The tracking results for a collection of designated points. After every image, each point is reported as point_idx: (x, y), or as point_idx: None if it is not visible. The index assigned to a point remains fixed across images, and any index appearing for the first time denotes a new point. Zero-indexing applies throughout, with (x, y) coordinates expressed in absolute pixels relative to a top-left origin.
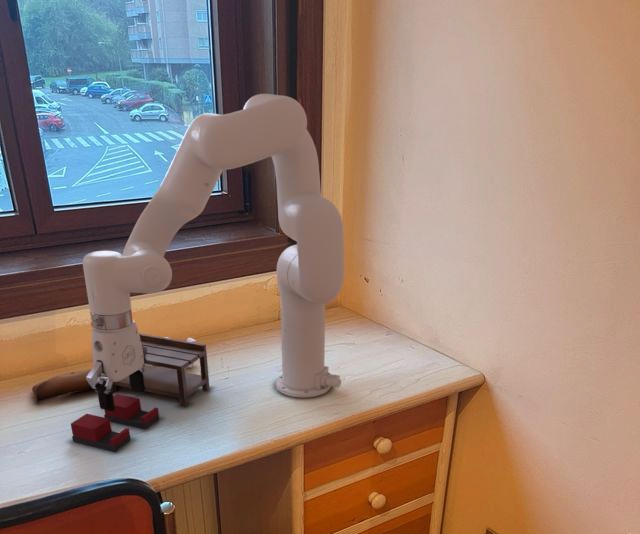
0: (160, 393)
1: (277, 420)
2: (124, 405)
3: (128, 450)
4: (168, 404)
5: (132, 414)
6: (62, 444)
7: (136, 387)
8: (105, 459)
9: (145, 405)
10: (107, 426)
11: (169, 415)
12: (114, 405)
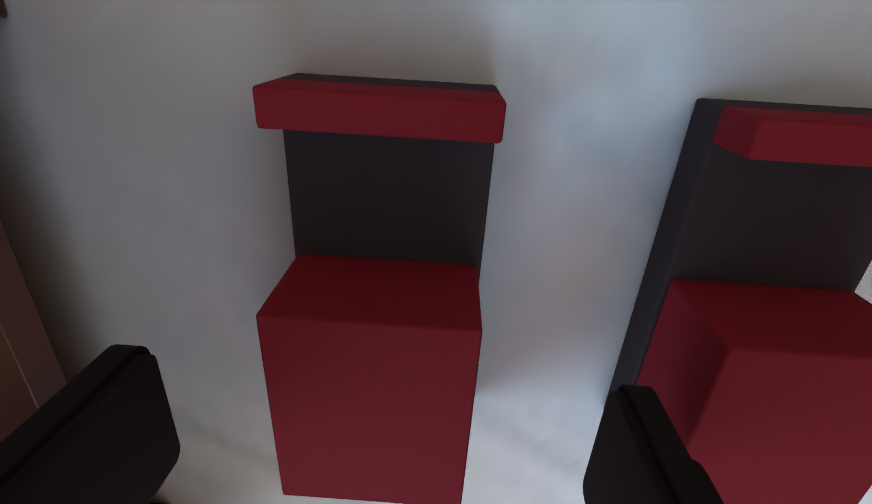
0: (5, 244)
1: None
2: (443, 362)
3: (869, 19)
4: (60, 145)
5: (409, 269)
6: None
7: (147, 430)
8: None
9: (180, 289)
10: (747, 315)
11: (196, 23)
12: (628, 421)
